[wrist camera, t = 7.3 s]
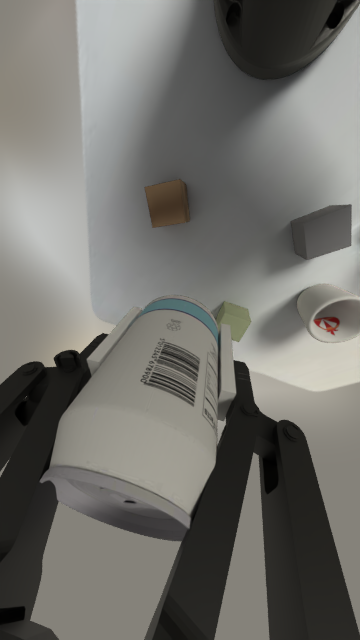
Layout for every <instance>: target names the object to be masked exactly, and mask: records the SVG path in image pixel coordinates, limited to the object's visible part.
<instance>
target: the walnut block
mask: <svg viewBox="0 0 360 640" xmlns="http://www.w3.org/2000/svg"><path fill="white" fill-rule="evenodd" d="M145 192H146V197H147V202H148V207H149V212H150V217H151V222H152V227H153V228H155V227H161V226H167V225H173V224H179V223H185V222H188V221H190V217H189V207H188V198H187V188H186V184H185V183H184V182H183V181H182V180H180V179H179V180H174V181H170V182H165V183H161V184H157V185H152V186H148V187H145Z"/></svg>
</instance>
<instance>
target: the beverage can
mask: <svg viewBox="0 0 360 640" xmlns="http://www.w3.org/2000/svg"><path fill="white" fill-rule="evenodd" d="M218 338H219V332H218V325H217V322H216V320H215V318H214V316H213V315H212V313H211V312H210V311H209V310H208V309H207V308H206V307H205V306H204V305H202V304H201V303H199V302H198V301H196V300H194V299H191V298H188V297H185V296H179V295H168V296H163V297H160V298H157V299H155V300H153V301H152V302H150V303H149V304H148V305H147V306H146V307H145V309H144V310H143V311H142V312H141V314H140V315H139V316H138V318H137V319H136V320H135V322H134V323H133V324H132V325H131V327H130V328H129V329H128V331H127V332H126V333H125V335H124V336H123V337H122V338H121V340H120V341H119V342H118V344H117V345H116V346H115V347H114V349H113V350H112V351H111V353H110V354H109V355H108V357H107V358H106V359H105V360H104V362H103V363H102V364H101V366H100V367H99V368H98V370H97V371H96V372H95V373H94V375H93V376H92V377H91V379H90V380H89V381H88V383H87V384H86V385H85V386H84V388H83V389H82V390H81V392H80V393H79V394H78V395H77V397H76V398H75V399H74V401H73V402H72V403H71V405H70V406H69V407H68V408H67V410H66V411H65V412H64V414H63V415H62V417H61V419H60V421H59V424H58V429H57V434H56V439H55V443H54V448H53V453H52V457H51V462H50V467H49V470H47V471H46V472H45V473H44V475H43V476H42V478H41V479H40V482H41V483H43V482H45V481H48V480H50V481H51V482H52V483H53V484H54V485H55V488H56V493H57V500H58V501H59V502H61V503H63V504H64V505H66V506H68V507H70V508H72V509H74V510H76V511H78V512H80V513H82V514H84V515H87V516H89V517H92V518H94V519H96V520H99V521H101V522H104V523H106V524H109V525H112V526H115V527H118V528H120V529H124V530H127V531H130V532H133V533H137V534H140V535H144V536H148V537H153V538H157V539H163V540H170V541H182V540H183V538H184V536H185V534H186V532H187V529H188V530H190V528H191V525H192V522H193V517H194V515H195V512H196V510H197V507H198V505H199V502H200V499H201V497H202V494H203V492H204V489H205V487H206V484H207V481H208V479H209V476H210V474H211V472H212V470H213V469H214V466H215V463H216V456H217V415H218Z"/></svg>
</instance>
